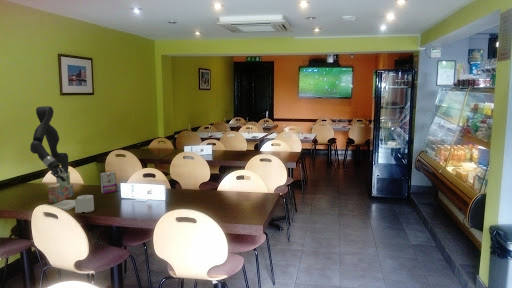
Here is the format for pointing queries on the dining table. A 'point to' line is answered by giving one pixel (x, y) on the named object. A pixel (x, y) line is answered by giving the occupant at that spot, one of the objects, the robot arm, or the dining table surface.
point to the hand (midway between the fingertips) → (66, 180)
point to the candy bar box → (108, 182)
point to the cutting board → (65, 204)
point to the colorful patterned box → (59, 192)
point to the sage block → (67, 180)
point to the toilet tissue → (84, 204)
